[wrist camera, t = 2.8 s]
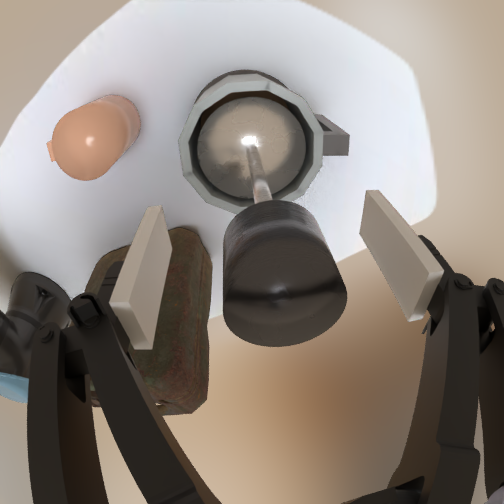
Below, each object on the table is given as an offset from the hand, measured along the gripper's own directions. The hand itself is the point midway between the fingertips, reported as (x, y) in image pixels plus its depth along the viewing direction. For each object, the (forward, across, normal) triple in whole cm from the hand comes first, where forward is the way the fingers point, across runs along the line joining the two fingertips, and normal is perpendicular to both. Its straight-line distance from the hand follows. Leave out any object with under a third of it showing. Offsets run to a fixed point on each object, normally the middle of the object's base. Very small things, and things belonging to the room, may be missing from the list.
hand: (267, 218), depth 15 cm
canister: (+24, -16, -20) cm, 35 cm away
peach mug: (+24, -17, +2) cm, 29 cm away
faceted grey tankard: (+24, +1, 0) cm, 24 cm away
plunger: (+12, 0, 0) cm, 12 cm away
